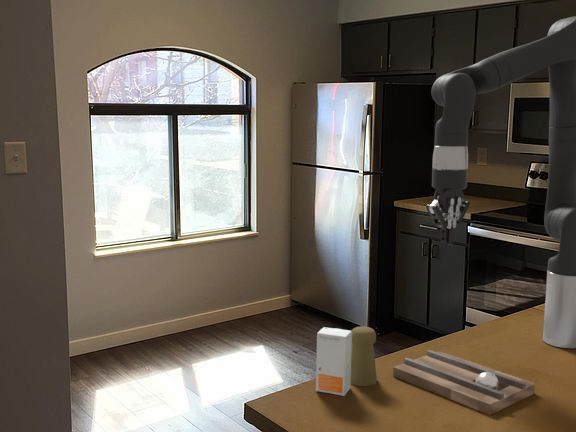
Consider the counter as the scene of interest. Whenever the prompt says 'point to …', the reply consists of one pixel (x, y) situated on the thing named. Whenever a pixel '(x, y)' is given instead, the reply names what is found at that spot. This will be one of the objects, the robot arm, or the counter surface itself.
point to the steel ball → (488, 380)
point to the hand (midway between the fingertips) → (446, 244)
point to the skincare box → (333, 361)
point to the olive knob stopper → (363, 357)
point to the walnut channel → (462, 381)
